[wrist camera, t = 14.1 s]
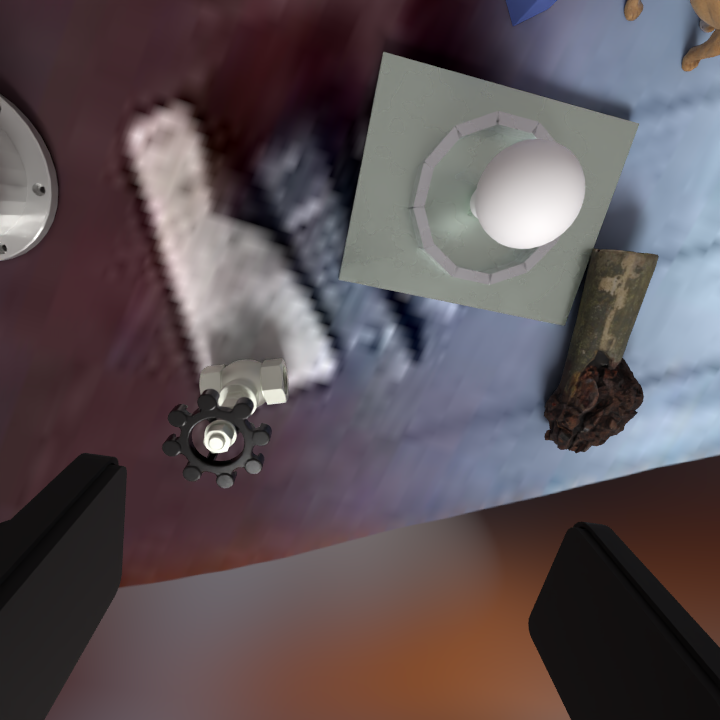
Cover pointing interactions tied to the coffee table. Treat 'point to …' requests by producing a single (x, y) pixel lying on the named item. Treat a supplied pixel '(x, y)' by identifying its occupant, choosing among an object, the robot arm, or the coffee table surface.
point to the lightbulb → (529, 193)
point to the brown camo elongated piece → (601, 353)
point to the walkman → (526, 9)
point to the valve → (228, 417)
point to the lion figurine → (715, 9)
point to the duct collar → (470, 191)
